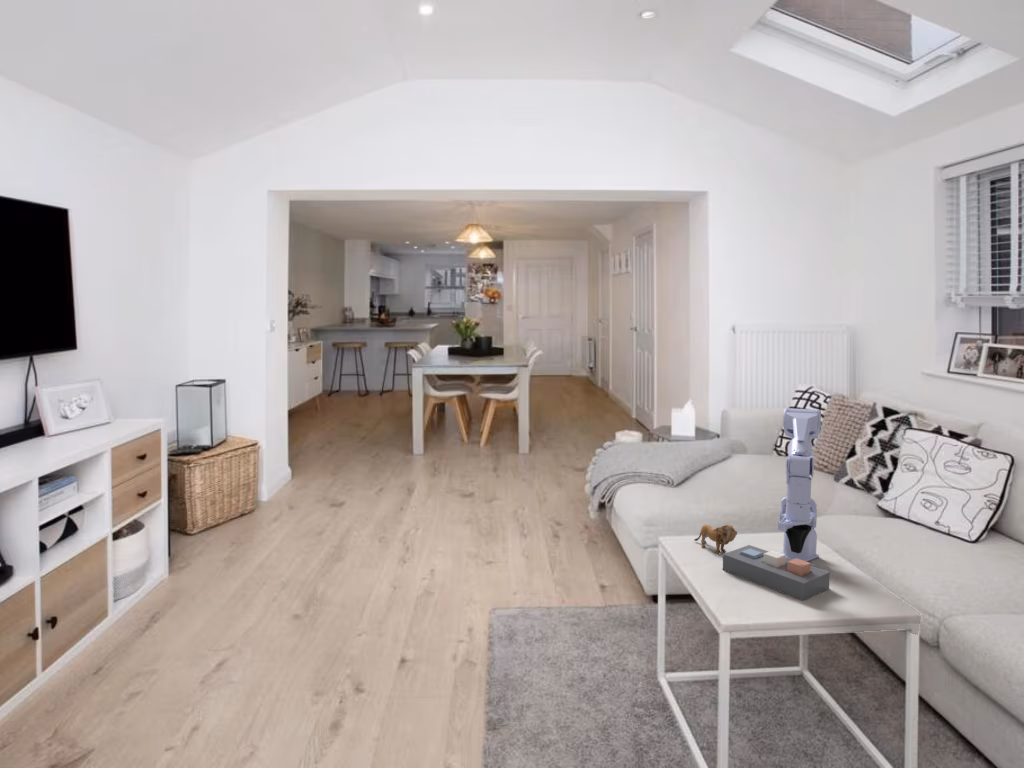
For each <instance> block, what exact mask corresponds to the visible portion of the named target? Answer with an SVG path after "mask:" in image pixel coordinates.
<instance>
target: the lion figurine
mask: <svg viewBox="0 0 1024 768" xmlns="http://www.w3.org/2000/svg"><path fill="white" fill-rule="evenodd" d="M737 535H738V531H736V530H735V528H734V526H733V525H732V524H726V525H722V526H719V527H717V528H713V527H712V526H711V525H709V524H707V523H706V524H703V525H702V526H701V529H700V533H699V535H698V537H697V538H695V539H693V540H694V541H695V542H696V541H697V542H698V541H699V540H700V539H701V540H700V542H701V545H700V546H701V547H702V548H703V547H704V548H706V545H705V544H707V541H706V539H707V538H708V539H709V540H711V541H712V542H715V546H716V547H715V548H716V554H717V553H721V554H722V551H725V550H726V549H724V546H725V545H729V544H730V543H731V542H733V541H734V540H735V538H736V537H737ZM725 552H726V551H725Z"/></svg>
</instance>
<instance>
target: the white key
mask: <svg viewBox="0 0 1024 768" xmlns="http://www.w3.org/2000/svg"><path fill="white" fill-rule="evenodd" d="M763 563H765V564H768V565H771V566H774V567H776V568H779V567H781V566H783V565H786V555H785V554H782V553H781V552H779V551H776V550H773V549H772V550H769V552H767V553H764V561H763Z"/></svg>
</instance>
